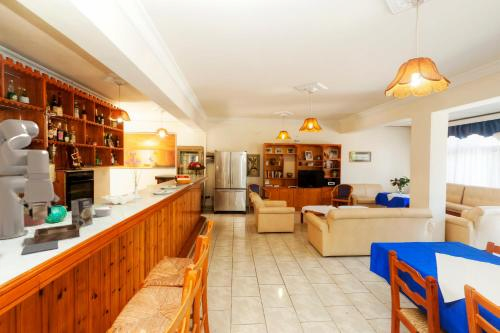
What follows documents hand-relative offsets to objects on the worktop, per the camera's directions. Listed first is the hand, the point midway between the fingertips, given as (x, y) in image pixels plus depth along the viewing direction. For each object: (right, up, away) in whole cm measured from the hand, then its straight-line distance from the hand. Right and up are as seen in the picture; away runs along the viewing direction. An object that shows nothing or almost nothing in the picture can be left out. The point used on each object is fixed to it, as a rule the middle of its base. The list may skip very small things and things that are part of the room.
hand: (40, 216), depth 114 cm
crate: (-5, -14, +16) cm, 22 cm away
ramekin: (-8, -12, +63) cm, 65 cm away
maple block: (0, -1, 0) cm, 1 cm away
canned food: (-37, -13, +40) cm, 56 cm away
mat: (0, -15, +1) cm, 15 cm away
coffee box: (-6, -13, +37) cm, 40 cm away
